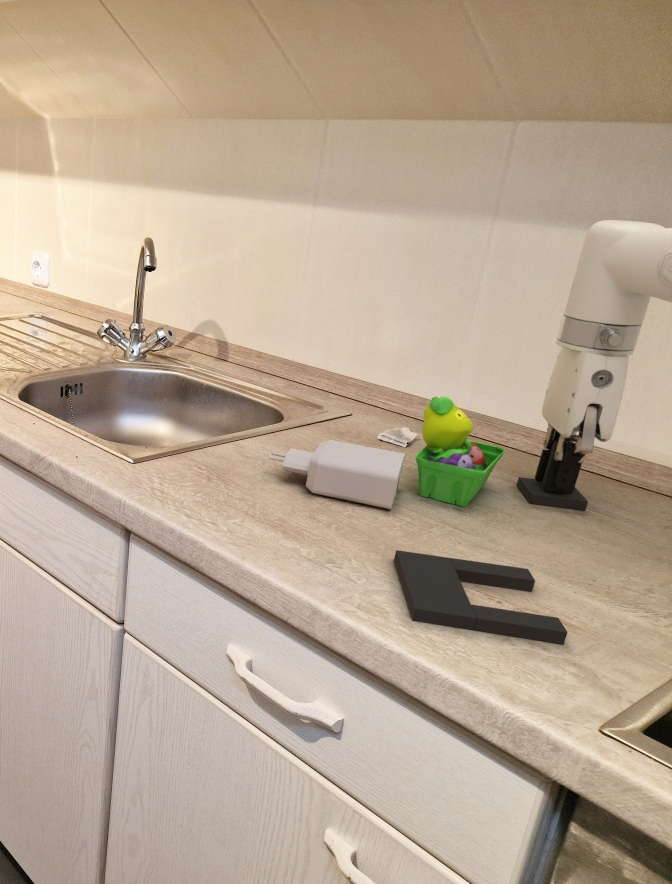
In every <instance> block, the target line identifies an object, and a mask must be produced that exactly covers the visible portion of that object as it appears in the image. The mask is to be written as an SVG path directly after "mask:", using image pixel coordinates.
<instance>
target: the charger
mask: <svg viewBox="0 0 672 884" xmlns="http://www.w3.org/2000/svg"><path fill="white" fill-rule="evenodd" d="M405 457H406V453H405V452H399V451H394V450H388V449H383V448H377V447H371V446H365V445H361V444H356V443H351V442H350V443H349V442H343V441H340V440H339V441H338V440H333V439H328V440H325V441H322V442H320V443H319V445H318V447H317V448H316V449H315V451H314V452H312V451H309V450H302V449H297V448H289V449H288V451H287V452H286V453H283V452H277V451H272V452H271V453H270V455H268V458H267V459H268V460H273V461H278V462H282V466H281V467H282V470H283V472H289V473H293V474H299V475H303V476H307V478H306V483H305V487H306V489H308V490H309V491H310V492H311V493H312V494H316V495H320V496H325V497H330V498H335V499H340V500H344V501H349V502H354V503H358V504H363V505H369V506H373V507H377V508H383V509H387V510H392V507H393V505H394V501H395V498H396V495H397V492H398V489H399V484H400V480H401V477H402V472H403V468H404V467H403V466H404V462H405Z"/></svg>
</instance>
